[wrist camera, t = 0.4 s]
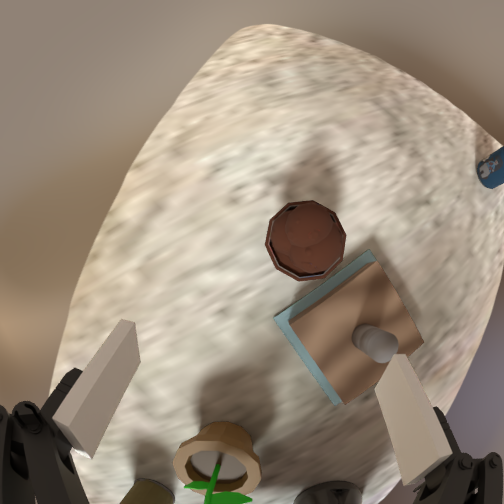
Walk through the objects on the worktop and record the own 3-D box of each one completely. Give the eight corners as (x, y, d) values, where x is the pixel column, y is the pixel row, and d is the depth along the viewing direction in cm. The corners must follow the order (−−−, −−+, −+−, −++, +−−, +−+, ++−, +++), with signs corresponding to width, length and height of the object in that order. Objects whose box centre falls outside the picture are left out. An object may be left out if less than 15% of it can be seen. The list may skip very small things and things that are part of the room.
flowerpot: (208, 473, 42) (167, 578, 12) (176, 421, 43) (98, 520, 14) (275, 458, 41) (273, 579, 12) (245, 402, 43) (213, 527, 13)
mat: (420, 338, 42) (421, 338, 42) (334, 405, 42) (334, 406, 41) (368, 249, 45) (369, 249, 44) (273, 317, 44) (273, 318, 44)
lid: (411, 337, 42) (452, 352, 29) (338, 394, 42) (359, 428, 29) (367, 263, 44) (401, 255, 31) (287, 320, 44) (294, 336, 31)
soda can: (496, 181, 44) (526, 165, 32) (486, 195, 44) (519, 180, 32) (481, 158, 45) (510, 138, 33) (471, 170, 45) (501, 150, 33)
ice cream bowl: (253, 248, 46) (244, 231, 31) (301, 204, 46) (313, 169, 31) (296, 295, 45) (309, 301, 30) (343, 249, 45) (375, 233, 30)
